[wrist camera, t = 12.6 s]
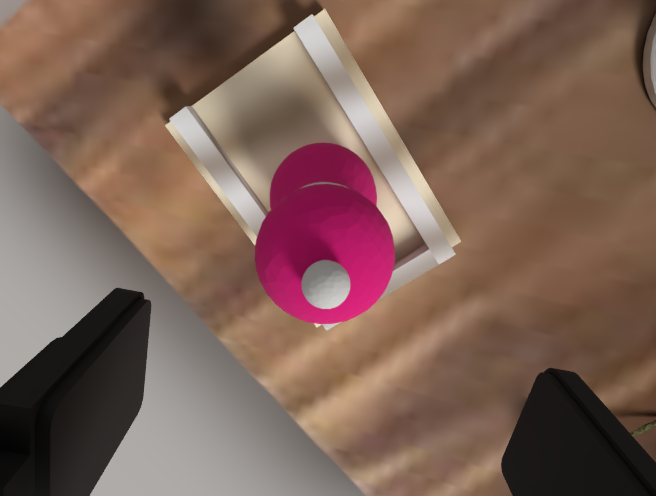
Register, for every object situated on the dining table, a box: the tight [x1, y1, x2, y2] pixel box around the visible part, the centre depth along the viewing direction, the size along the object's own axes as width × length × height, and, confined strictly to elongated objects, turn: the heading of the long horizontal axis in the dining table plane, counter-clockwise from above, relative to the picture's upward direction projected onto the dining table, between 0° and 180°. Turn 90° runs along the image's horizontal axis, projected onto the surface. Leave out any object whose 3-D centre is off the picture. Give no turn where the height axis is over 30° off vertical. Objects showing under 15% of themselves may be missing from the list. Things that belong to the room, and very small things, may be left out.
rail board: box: [165, 9, 461, 330], centre depth 34 cm, size 20×14×2 cm
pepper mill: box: [255, 143, 395, 324], centre depth 25 cm, size 7×7×20 cm
